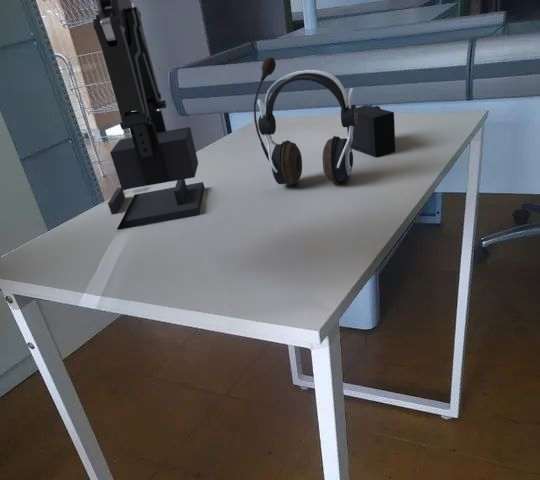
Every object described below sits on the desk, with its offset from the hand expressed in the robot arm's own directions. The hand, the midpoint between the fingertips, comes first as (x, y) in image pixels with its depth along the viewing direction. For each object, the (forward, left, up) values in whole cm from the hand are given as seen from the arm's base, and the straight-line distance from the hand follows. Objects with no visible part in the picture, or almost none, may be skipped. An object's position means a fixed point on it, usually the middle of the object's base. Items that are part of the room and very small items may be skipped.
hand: (160, 173), depth 68 cm
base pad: (-9, +27, -13) cm, 31 cm away
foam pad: (0, 0, 0) cm, 0 cm away
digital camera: (+33, +39, -13) cm, 53 cm away
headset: (+20, +25, -13) cm, 35 cm away
